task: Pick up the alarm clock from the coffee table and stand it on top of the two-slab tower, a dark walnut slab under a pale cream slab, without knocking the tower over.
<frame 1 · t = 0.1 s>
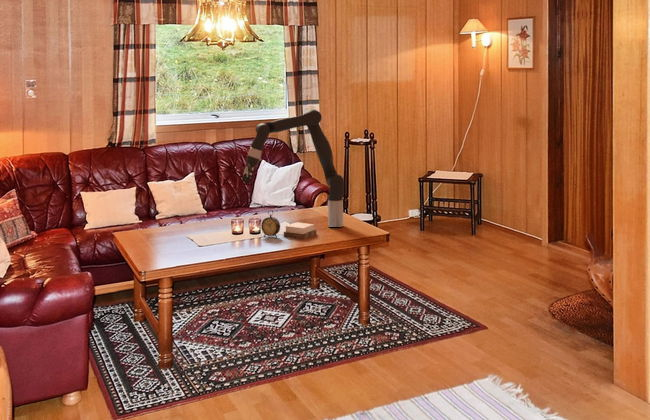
hand: (244, 182, 419), 31 cm above the table, tool tilted 20°, fingers open, 8 cm apart
walnut slab: (300, 236, 422), on the table, touching cream slab
cream slab: (300, 230, 421), point 3 cm above the table, touching walnut slab
alarm clock: (271, 237, 419), on the table
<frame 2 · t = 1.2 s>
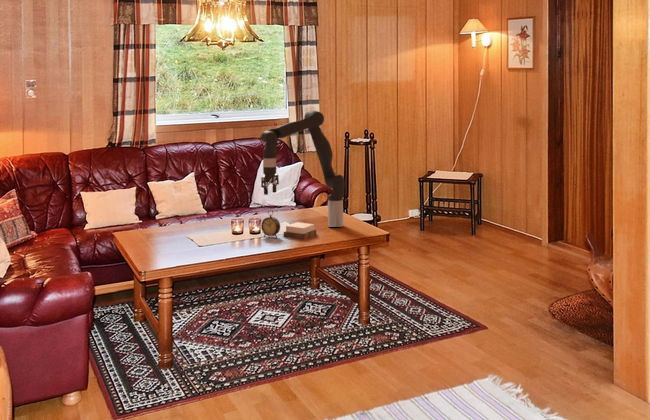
hand: (270, 193, 414), 26 cm above the table, tool pointing down, fingers open, 8 cm apart
nothing on the table moved.
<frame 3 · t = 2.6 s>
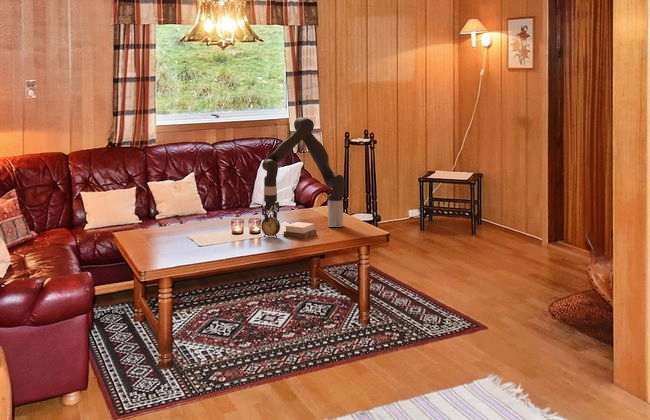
hand: (270, 220, 417), 10 cm above the table, tool pointing down, fingers open, 8 cm apart
nothing on the table moved.
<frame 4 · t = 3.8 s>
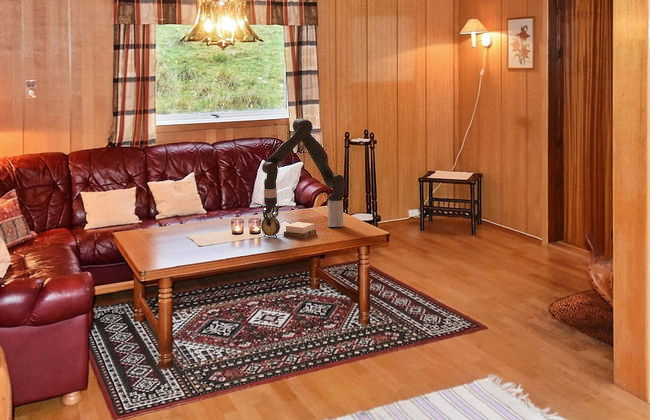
hand: (271, 224, 417), 7 cm above the table, tool pointing down, fingers closed on alarm clock, 5 cm apart
alarm clock: (271, 237, 419), on the table, touching gripper
everything else where it was.
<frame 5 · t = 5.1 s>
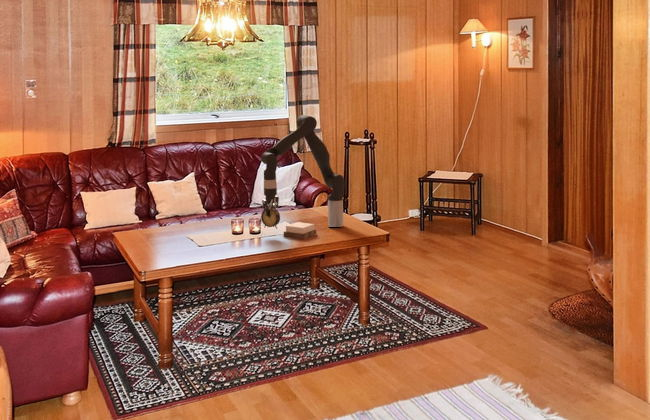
hand: (271, 215, 416), 13 cm above the table, tool pointing down, fingers closed on alarm clock, 5 cm apart
alarm clock: (271, 228, 418), point 5 cm above the table, touching gripper
everything else where it was.
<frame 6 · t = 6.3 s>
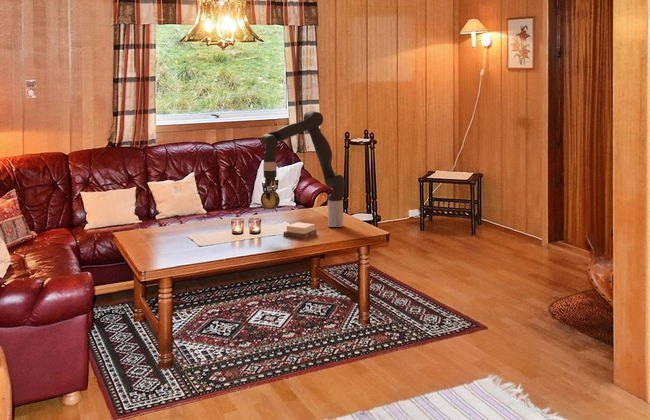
hand: (270, 198, 414), 23 cm above the table, tool pointing down, fingers closed on alarm clock, 5 cm apart
alarm clock: (271, 210, 416), point 16 cm above the table, touching gripper
everything else where it was.
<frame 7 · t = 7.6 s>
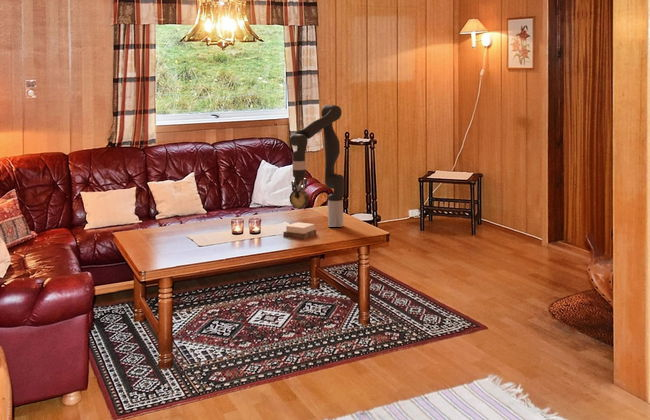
hand: (299, 197, 417), 23 cm above the table, tool pointing down, fingers closed on alarm clock, 5 cm apart
alarm clock: (299, 209, 419), point 15 cm above the table, touching gripper
everything else where it was.
when the fingers open (16 cm above the table, at t = 10.0 s): alarm clock drops 2 cm, resting on cream slab.
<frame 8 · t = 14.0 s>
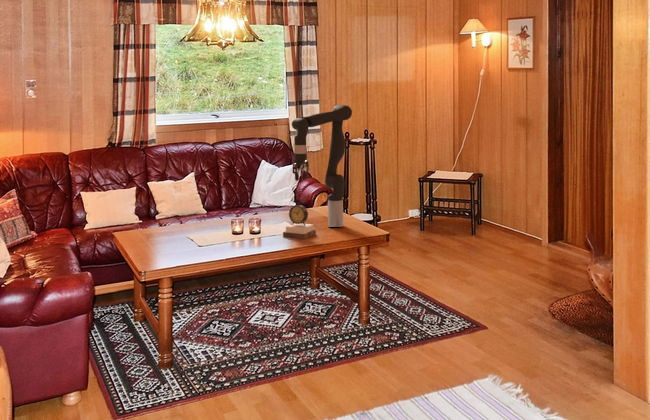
hand: (300, 179, 424), 32 cm above the table, tool pointing down, fingers open, 8 cm apart
cream slab: (299, 231, 421), point 3 cm above the table, touching alarm clock, walnut slab
alarm clock: (299, 225, 420), point 6 cm above the table, touching cream slab
everything else where it was.
at the end: alarm clock inside the target area on the cream slab (0.2 cm from its centre), point 3.3 cm above the cream slab's base; alarm clock tilted 0°; cream slab 0.2 cm off-centre on the walnut slab, point 3.5 cm above the walnut slab's base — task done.
